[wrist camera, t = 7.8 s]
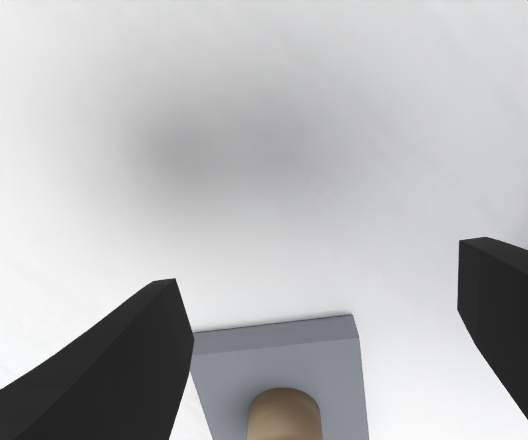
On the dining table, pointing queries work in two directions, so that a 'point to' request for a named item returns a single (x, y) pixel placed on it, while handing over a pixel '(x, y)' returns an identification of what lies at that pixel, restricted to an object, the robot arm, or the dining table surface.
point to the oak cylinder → (284, 416)
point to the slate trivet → (282, 373)
